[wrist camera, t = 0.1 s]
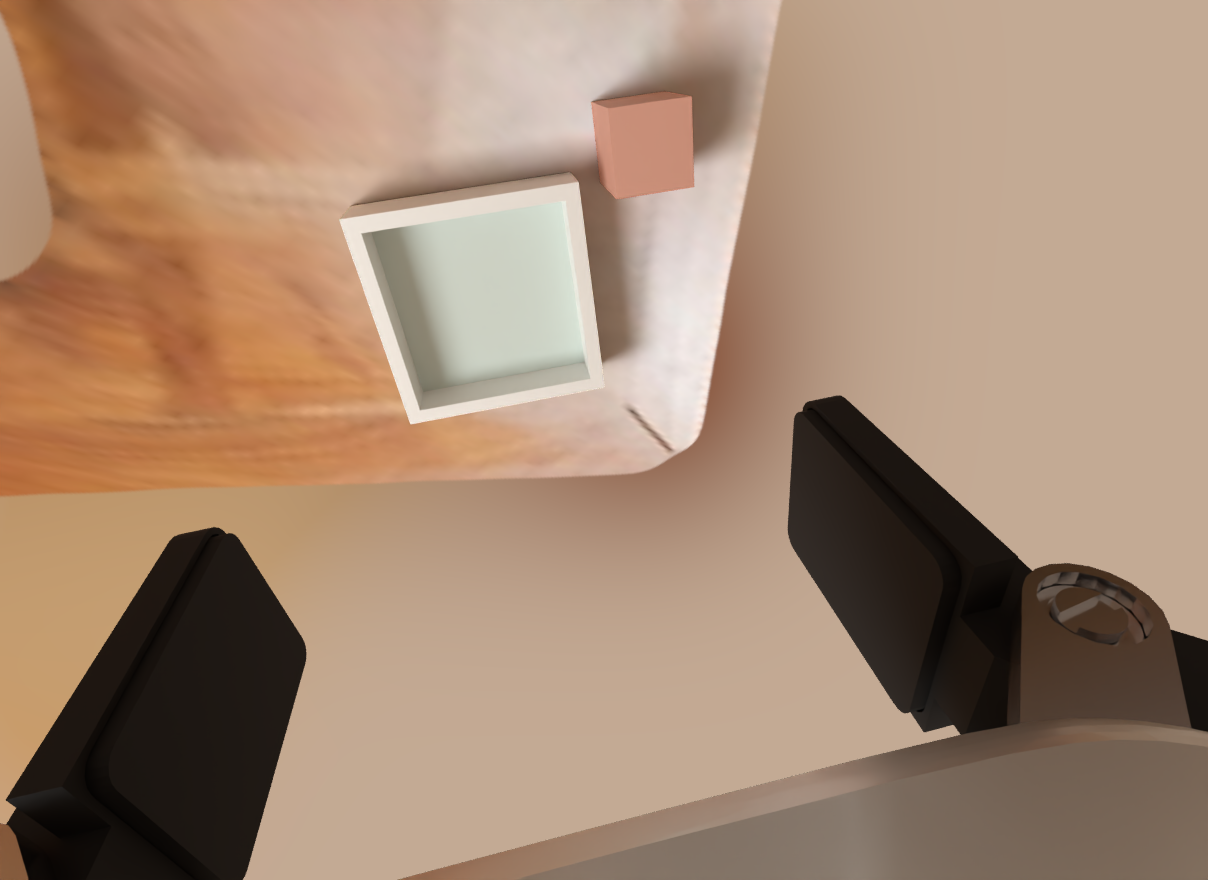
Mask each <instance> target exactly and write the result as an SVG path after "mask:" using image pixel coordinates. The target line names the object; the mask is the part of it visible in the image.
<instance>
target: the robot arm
mask: <svg viewBox="0 0 1208 880" xmlns="http://www.w3.org/2000/svg"><path fill="white" fill-rule="evenodd" d="M788 535H789V539H790V542H791V545H792V547H793V549H794V550H795V552H796V553H797V555H798V557H799V558H800V560H801V561H802V563H803V564H804V566H805V567H806V569H807V570H808V572H809V573H810V575H811V577H812V578H813V580H814V581H815V583H816V584H817V586H818V587H819V589H820V590H821V592H822V593H823V595H824V596H825V598H826V600H827V601H828V603H829V604H830V606H831V607H832V609H833V610H834V612H835V613H836V615H837V617H838V618H839V620H840V621H841V623H842V624H843V626H844V627H845V629H846V630H847V632H848V633H849V635H850V636H851V638H852V640H853V641H854V643H855V644H856V646H857V647H858V649H859V650H860V652H861V654H862V655H863V656H864V658H865V660H866V661H867V663H868V664H869V666H870V667H871V669H872V670H873V672H874V674H875V675H876V677H877V678H878V680H879V681H880V683H881V684H882V686H883V687H884V689H885V690H886V692H887V694H888V695H889V697H890V698H891V699H892V701H893V703H894V704H895V705H896V707H897V708H898V709H899V710H900V711H901V712H903V713H909V712H911V714H912V715H913V717H914V718H915V719H916V721H917V723H918V724H919V726H920V727H921V729H922V730H923V732H927V731H931V730H935V729H939V728H943V727H946V726H950V725H954V726H955V727H956V729H957V730H958V731H959V733H960V734H961V735H958V736H954V737H950V738H946V739H942V740H937V741H934V742H930V743H925V744H921V745H916V746H912V747H908V748H904V749H900V750H895V751H891V752H887V753H883V754H879V755H874V756H870V757H866V758H862V759H858V760H853V761H850V762H846V763H842V764H838V765H834V766H830V767H826V768H822V769H818V770H815V771H811V772H807V773H803V774H799V775H795V776H791V777H787V778H784V779H780V780H776V781H772V782H768V783H764V784H760V785H756V786H753V787H749V788H745V789H741V790H737V791H734V792H729V793H725V794H722V795H718V796H714V797H710V798H706V799H703V800H699V801H694V802H691V803H687V804H683V805H679V806H675V807H671V808H667V809H664V810H660V811H656V812H652V813H648V814H644V815H641V816H637V817H633V818H629V819H625V820H622V821H618V822H614V823H611V824H606V825H603V826H599V827H595V828H591V829H587V830H584V831H580V832H576V833H572V834H568V835H565V836H561V837H557V838H553V839H549V840H546V841H542V842H538V843H534V844H531V845H527V846H523V847H519V848H515V849H512V850H508V851H504V852H500V853H496V854H493V855H489V856H485V857H481V858H477V859H474V860H470V861H466V862H462V863H459V864H455V865H451V866H448V867H443V868H440V869H436V870H432V871H428V872H425V873H421V874H417V875H413V876H410V877H406V878H403V879H398V880H1208V641H1207V640H1203V639H1200V638H1197V637H1194V636H1190V635H1187V634H1184V633H1180V632H1177V631H1174V630H1171V629H1170V625H1169V623H1168V621H1167V619H1166V617H1165V614H1164V612H1163V611H1162V609H1161V608H1159V606H1158V605H1157V604H1156V603H1155V602H1154V601H1153V600H1152V598H1150V596H1148V595H1147V594H1146V593H1144V592H1143V591H1141V590H1140V589H1139V588H1137V587H1136V586H1134V585H1133V584H1132V583H1130V582H1128V581H1126V580H1124V579H1122V578H1119V577H1117V576H1115V575H1113V574H1111V573H1109V572H1106V571H1102V570H1099V569H1096V568H1093V567H1090V566H1083V565H1077V564H1070V563H1064V564H1049V565H1046V566H1043V567H1040V568H1037V569H1035V570H1034V571H1032V570H1031V569H1030V568H1028V567H1027V566H1026V565H1025V564H1024V563H1023V562H1022V561H1021V560H1020V559H1019V558H1018V556H1017V555H1016V554H1015V553H1013V552H1012V551H1011V550H1010V549H1009V548H1008V547H1007V546H1006V545H1005V544H1004V543H1003V542H1001V541H1000V540H999V539H998V538H997V537H996V536H995V535H994V534H993V533H992V532H991V531H989V530H988V529H987V528H986V527H985V526H984V525H983V524H982V523H981V522H980V521H979V520H977V519H976V518H975V517H974V516H973V515H972V514H971V513H970V512H969V511H968V510H966V509H965V508H964V507H963V506H962V505H961V504H960V503H959V502H958V501H957V500H956V499H955V498H953V497H952V496H951V495H950V494H949V493H948V492H947V491H946V490H945V489H944V488H942V487H941V486H940V485H939V484H938V483H937V482H936V481H935V480H934V479H933V478H932V477H930V476H929V475H928V474H927V473H926V472H925V471H924V470H923V469H922V468H921V467H920V466H919V465H917V464H916V463H915V462H914V461H913V460H912V459H911V458H910V457H909V456H908V455H907V454H905V453H904V452H903V451H902V450H901V449H900V448H899V447H898V446H897V445H896V444H895V443H893V442H892V441H891V440H890V439H889V438H888V437H887V436H886V435H885V434H883V433H882V432H881V431H880V430H879V429H878V428H877V427H876V426H875V425H874V424H873V423H872V422H871V421H869V420H868V419H867V418H866V417H865V416H864V415H863V414H862V413H861V412H859V410H857V409H856V408H855V407H854V406H853V405H852V404H851V403H850V402H849V401H847V400H846V399H845V398H844V397H842V396H833V397H828V398H823V399H819V400H814V401H809V402H807V403H806V404H805V405H804V407H803V411H802V412H798V413H797V414H796V415H795V418H794V429H793V448H792V464H791V481H790V499H789V516H788ZM305 662H306V646H305V643H304V641H303V638H302V637H301V635H300V634H299V632H298V631H297V629H296V627H295V626H294V624H293V623H292V621H291V620H290V618H289V617H288V615H287V613H286V612H285V610H284V609H283V607H282V606H281V604H280V603H279V601H278V599H277V598H276V596H275V595H274V593H273V591H272V590H271V588H270V587H269V585H268V584H267V582H266V581H265V579H264V577H263V576H262V574H261V573H260V571H259V570H258V569H257V566H256V565H255V563H254V562H253V560H252V559H251V557H250V556H249V554H248V552H247V551H246V549H245V548H244V546H243V545H242V543H241V542H240V540H239V539H238V537H236V536H235V535H234V534H231V533H228V534H226V533H225V532H224V531H223V530H221V529H220V528H216V527H213V528H208V529H203V530H199V531H194V532H189V533H184V534H180V535H177V536H174V537H173V538H172V539H171V540H170V541H169V543H168V544H167V546H166V548H165V549H164V551H163V552H162V554H161V555H160V557H159V559H158V560H157V562H156V563H155V565H154V567H153V568H152V570H151V571H150V573H149V574H148V576H147V578H146V579H145V581H144V582H143V584H142V585H141V587H140V589H139V590H138V592H137V593H136V595H135V597H134V598H133V600H132V601H131V603H130V604H129V606H128V608H127V609H126V611H125V612H124V614H123V615H122V617H121V619H120V620H119V622H118V624H117V625H116V627H115V628H114V630H113V631H112V633H111V634H110V636H109V638H108V639H107V641H106V642H105V644H104V646H103V647H102V649H101V650H100V652H99V653H98V655H97V657H96V658H95V660H94V661H93V663H92V664H91V666H90V668H89V669H88V671H87V672H86V674H85V675H84V677H83V679H82V680H81V682H80V683H79V685H78V687H77V688H76V690H75V691H74V693H73V694H72V696H71V698H70V699H69V701H68V702H67V704H66V705H65V707H64V709H63V710H62V712H61V713H60V715H59V717H58V718H57V720H56V721H55V723H54V724H53V726H52V728H51V729H50V731H49V732H48V734H47V735H46V737H45V739H44V740H43V742H42V743H41V745H40V747H39V748H38V750H37V751H36V753H35V754H34V756H33V758H32V759H31V761H30V762H29V764H28V765H27V767H26V769H25V771H24V772H23V773H22V775H21V776H20V778H19V780H18V781H17V783H16V784H15V786H14V788H13V789H12V791H11V792H10V794H9V796H8V797H7V799H6V801H8V802H9V803H10V804H12V805H13V806H15V807H16V809H15V811H14V813H13V814H12V816H11V818H10V819H9V821H8V822H7V824H1V823H0V880H243V878H244V877H245V874H246V872H247V869H248V865H249V862H250V858H251V855H252V851H253V848H254V844H255V841H256V837H257V833H258V830H259V826H260V823H261V819H262V816H263V812H264V808H265V805H266V801H267V798H268V794H269V791H270V787H271V783H272V780H273V776H274V773H275V769H276V766H277V762H278V759H279V755H280V751H281V748H282V744H283V741H284V737H285V734H286V730H287V726H288V723H289V719H290V716H291V712H292V709H293V705H294V702H295V698H296V695H297V691H298V687H299V684H300V680H301V677H302V673H303V669H304V666H305Z"/></svg>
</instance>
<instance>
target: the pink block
mask: <svg viewBox="0 0 1208 880" xmlns="http://www.w3.org/2000/svg"><path fill="white" fill-rule="evenodd" d="M591 104H592V113H593V122H594V132H595V141H596V150H597V159H598V168H599V177H600V183H601V184H602V185H603V186H604V187H605V188H606V189H607V190H608V191H609V192H610V193H611V194H612V195H613V196H614V197H615V198H616V199H622V198H629V197H635V196H641V195H647V194H654V193H660V192H666V191H672V190H678V189H685V188H691V187H694V162H693V125H692V96H688V95H683V94H677V93H672V92H666V91H663V92H656V93H649V94H642V95H635V96H628V97H621V98H615V99H608V100H601V101H594V102H591Z"/></svg>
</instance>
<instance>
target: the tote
mask: <svg viewBox="0 0 1208 880" xmlns="http://www.w3.org/2000/svg"><path fill="white" fill-rule="evenodd" d="M339 221H340V224H341V226H342V229H343V232H344V235H345V238H346V241H347V244H348V246H349V249H350V252H351V255H352V258H353V261H354V264H355V267H356V269H357V272H358V275H359V278H360V281H361V284H362V287H363V289H364V292H365V295H366V298H367V301H368V304H369V307H370V310H371V312H372V315H373V318H374V321H375V324H376V327H377V330H378V333H379V335H380V338H381V341H382V344H383V347H384V350H385V353H386V355H387V358H388V361H389V364H390V367H391V370H392V373H393V376H394V378H395V381H396V384H397V387H398V390H399V393H400V396H401V398H402V401H403V404H404V407H405V410H406V413H407V416H408V419H409V421H410V424H415V423H420V422H426V421H431V420H436V419H441V418H447V417H452V416H457V415H463V414H468V413H473V412H478V411H484V410H489V409H494V408H500V407H505V406H510V405H515V404H521V403H526V402H531V401H537V400H542V399H547V398H552V397H558V396H563V395H568V394H574V393H579V392H584V391H590V390H595V389H600V388H605V385H604V377H603V369H602V361H601V354H600V346H599V338H598V330H597V322H596V314H595V306H594V299H593V291H592V283H591V275H590V267H589V259H588V252H587V244H586V236H585V228H584V220H583V212H582V205H581V197H580V189H579V182H578V181H577V179H576V178H575V177H574V176H573V175H572V173H571V172H566V173H560V174H553V175H547V176H540V177H534V178H528V179H521V180H515V181H508V182H502V183H495V184H489V185H483V186H476V187H470V188H463V189H457V190H450V191H444V192H438V193H431V194H425V195H418V196H412V197H405V198H399V199H393V200H386V201H380V202H373V203H367V204H360V205H354V206H350V207H349V208H348V209H347V211H346V212H345V213H344V214H343V216H342V217H341V218H340V219H339Z"/></svg>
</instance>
